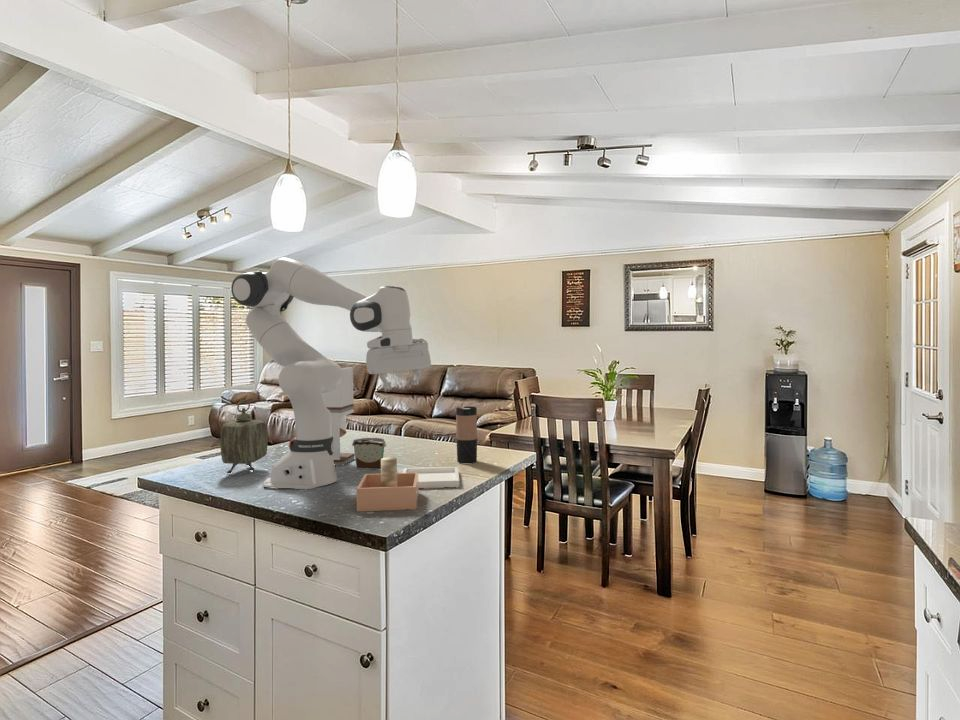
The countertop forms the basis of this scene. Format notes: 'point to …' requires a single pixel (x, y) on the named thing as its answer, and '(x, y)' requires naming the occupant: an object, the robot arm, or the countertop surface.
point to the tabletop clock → (243, 440)
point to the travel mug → (466, 434)
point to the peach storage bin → (388, 493)
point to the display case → (340, 413)
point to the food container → (369, 452)
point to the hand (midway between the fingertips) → (401, 386)
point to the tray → (436, 476)
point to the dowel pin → (389, 472)
